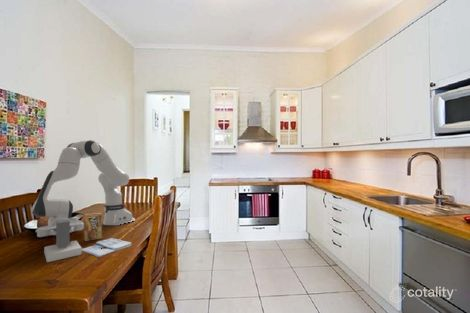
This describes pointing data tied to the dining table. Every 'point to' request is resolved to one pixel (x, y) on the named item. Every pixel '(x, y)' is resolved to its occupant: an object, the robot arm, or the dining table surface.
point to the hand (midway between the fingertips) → (63, 232)
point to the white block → (62, 251)
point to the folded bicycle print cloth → (108, 243)
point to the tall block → (63, 233)
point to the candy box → (93, 226)
